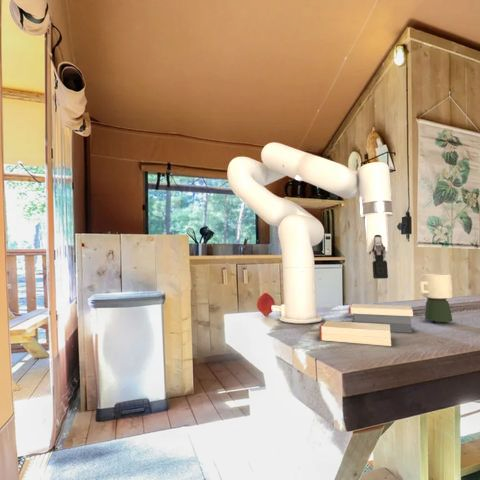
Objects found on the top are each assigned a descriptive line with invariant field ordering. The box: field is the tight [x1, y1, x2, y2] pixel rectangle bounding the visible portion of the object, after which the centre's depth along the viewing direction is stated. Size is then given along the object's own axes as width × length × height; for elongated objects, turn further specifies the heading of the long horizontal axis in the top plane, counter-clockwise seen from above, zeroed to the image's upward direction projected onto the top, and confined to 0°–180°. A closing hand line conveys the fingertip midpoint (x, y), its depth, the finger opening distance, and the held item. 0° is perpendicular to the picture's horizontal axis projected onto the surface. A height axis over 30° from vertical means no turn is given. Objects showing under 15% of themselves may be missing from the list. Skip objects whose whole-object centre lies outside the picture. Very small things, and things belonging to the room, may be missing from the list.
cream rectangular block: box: [318, 320, 392, 347], centre depth 68 cm, size 14×7×3 cm, turn 65°
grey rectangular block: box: [351, 314, 413, 334], centre depth 77 cm, size 13×6×4 cm, turn 65°
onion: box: [256, 290, 276, 317], centre depth 99 cm, size 6×6×8 cm
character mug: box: [419, 273, 453, 324], centre depth 83 cm, size 11×7×13 cm, turn 107°
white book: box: [348, 303, 414, 317], centre depth 78 cm, size 14×7×2 cm, turn 65°
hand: (380, 277), depth 78 cm, fingers open, 9 cm apart
